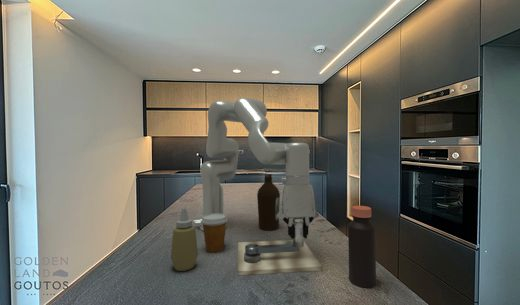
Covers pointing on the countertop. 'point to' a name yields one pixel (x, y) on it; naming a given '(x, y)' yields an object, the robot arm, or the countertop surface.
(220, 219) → the disposable coffee cup
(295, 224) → the lever
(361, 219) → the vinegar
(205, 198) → the robot arm
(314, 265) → the lever board
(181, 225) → the squeeze bottle
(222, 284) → the countertop surface
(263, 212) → the olive oil
